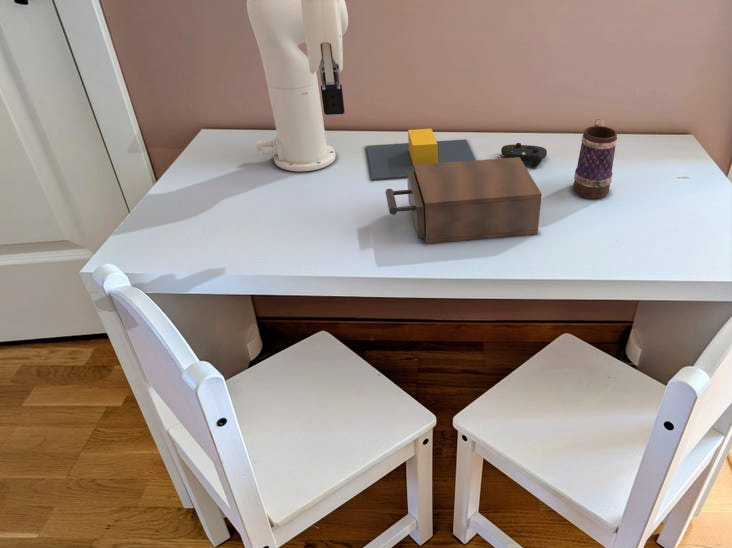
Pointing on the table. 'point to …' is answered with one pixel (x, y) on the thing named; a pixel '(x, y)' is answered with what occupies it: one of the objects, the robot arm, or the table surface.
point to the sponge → (422, 146)
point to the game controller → (525, 153)
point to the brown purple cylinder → (595, 161)
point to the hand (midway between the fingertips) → (334, 112)
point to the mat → (397, 159)
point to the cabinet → (478, 199)
